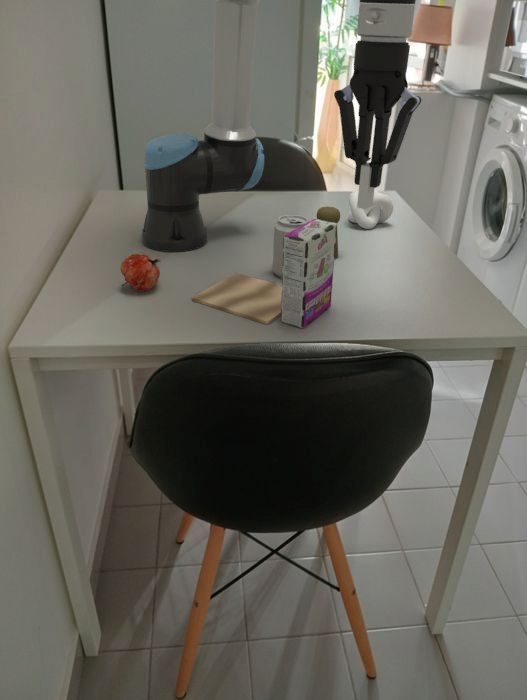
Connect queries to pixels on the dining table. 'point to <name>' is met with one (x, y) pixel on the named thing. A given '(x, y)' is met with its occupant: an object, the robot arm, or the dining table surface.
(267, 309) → the wooden board
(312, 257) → the candy bar box
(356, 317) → the dining table surface
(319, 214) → the pepper shaker
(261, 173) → the robot arm
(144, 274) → the pomegranate
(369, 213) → the white knot sculpture
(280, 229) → the can
